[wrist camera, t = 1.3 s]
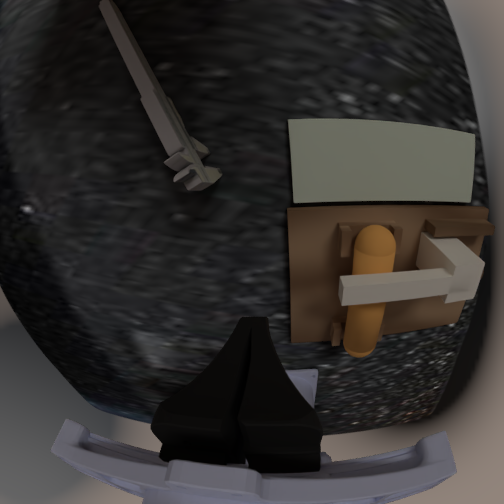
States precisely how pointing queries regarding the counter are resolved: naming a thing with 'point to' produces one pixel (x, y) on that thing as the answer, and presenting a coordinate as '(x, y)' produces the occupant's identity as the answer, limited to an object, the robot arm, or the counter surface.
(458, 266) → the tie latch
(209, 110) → the counter surface
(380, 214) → the clamp board
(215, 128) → the counter surface
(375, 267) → the orange sausage
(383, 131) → the mat
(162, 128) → the caliper
